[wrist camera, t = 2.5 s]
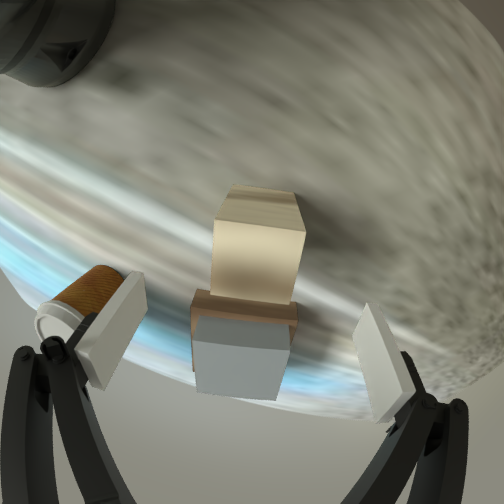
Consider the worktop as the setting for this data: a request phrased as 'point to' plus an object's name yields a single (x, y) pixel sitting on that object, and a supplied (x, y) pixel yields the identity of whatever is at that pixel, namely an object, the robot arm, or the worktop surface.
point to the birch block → (257, 245)
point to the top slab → (240, 357)
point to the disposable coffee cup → (77, 303)
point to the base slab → (241, 311)
